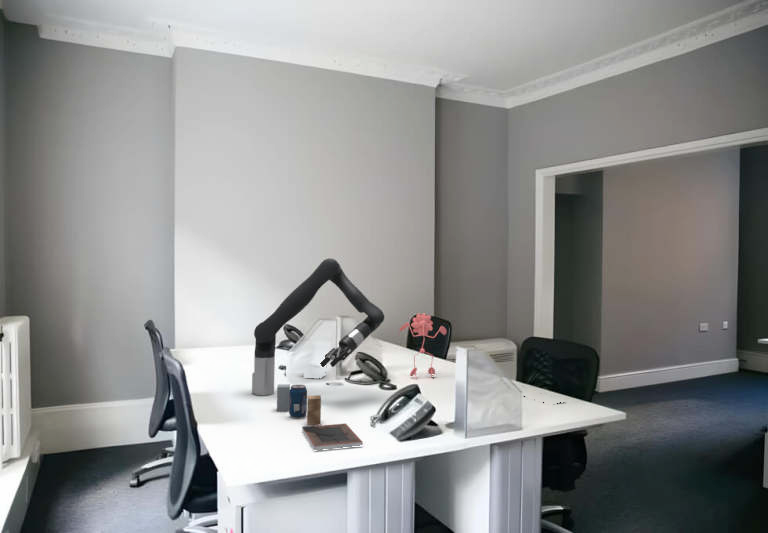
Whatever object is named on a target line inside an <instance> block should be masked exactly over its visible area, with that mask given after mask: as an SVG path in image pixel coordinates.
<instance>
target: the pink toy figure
mask: <svg viewBox="0 0 768 533" xmlns="http://www.w3.org/2000/svg"><path fill="white" fill-rule="evenodd" d="M431 319H432V316H431V315H429V314H427V315H426V313H425V312H423V313H420V312H418V313H417V314H416V316H415V317H413V318H412V323H411V324H410V322H406V323H403V325H402V326H401V327H400V328H399V330H398V332H399V333H401V332H403V331H404V330H406V328H407V327H409V330H410V332H411V334H412V337H414V338H415V337H423V341H422V345H421V348H419V349H420V350H419V352H417V353H416V354H415V355H414V356H413V362H414V363H413V367H414V368H413V369H412V370H411V371H410V375H409V376H412V377H413V376H415V377H416V378H417V371H418V368H417V367H416V365H415V364H416V363H415V362H416V360H415V357H416V356H417V355H418V354H419V353H420V354H425V353H426V354H428V355H429V356H431V361H433V358H434V356H433V354H431V353H429V352H426V350H425V348H424V344H425V337H428V338H431V339H434V338H436V336H437V335H438V334H439V332H440V333H441V334H442V335H443V336H445V335H446V334H447V328H445V326H443V325H441V326H440V327H439V329H438V331H437V332H436V333H435V334H434V336H431V335H428V334H429V331H430V332H431V331H433V326H432V325H433V324H434V322H433V321H432V320H431ZM411 327H412V328H413V329H412V328H411ZM414 333H415V334H416V333H417V334H416V335H414ZM430 365H431V366H430V367H428V370H427V372H428V375H429V374H431V375H432V374H434V375H435V374H436V369H435V368H434V367H433V362H431V364H430ZM431 375H430V376H431ZM434 375H432V376H433V377H434ZM432 376H431V377H432Z"/></svg>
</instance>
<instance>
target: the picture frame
mask: <svg viewBox="0 0 768 533" xmlns="http://www.w3.org/2000/svg"><path fill="white" fill-rule="evenodd" d="M301 428H302V429H301V432H302V431H303V432H302V434H303V433H304V434H303V435H304V437H305V436H306V437H305V439H306V438H307V439H308V440H307V439H306V440H307V442H308V441H309V442H308V443H310V444H311V445H310V444H309V445H310V447H311V446H312V447H313V449H314V450H323V449H333V448H343V447H352V446H360V445H363V446H364V444H363V443H364V442H363V440H362V439H361V438H359V436H358V435H357V434H356V432H355V431H353V430H352V429H351V427H350V426H349V425H348V424H347V423H345V422H344V423H338V424H337V423H336V424H335V423H333V424H324V425H321V424H320V425H305V426H301ZM312 447H311V448H312ZM313 449H312V450H313ZM314 450H313V451H314Z"/></svg>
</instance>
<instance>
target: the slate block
mask: <svg viewBox="0 0 768 533" xmlns="http://www.w3.org/2000/svg"><path fill="white" fill-rule="evenodd" d="M290 389H291V384H290V383H289V384H282V383H281V384H280V383H279V384H277V387H276V390H277V391H276V412H277V411H279V412H289V399H290Z"/></svg>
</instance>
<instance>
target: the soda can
mask: <svg viewBox="0 0 768 533" xmlns="http://www.w3.org/2000/svg"><path fill="white" fill-rule="evenodd" d="M307 403H308V389H307V387H306V385H305V384H293V385H290V399H289V411H288V414H289V416H290V417H291V418H293V417H294V418H293V419H302V418H305V417H306V416H307ZM301 417H302V418H301Z"/></svg>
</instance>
